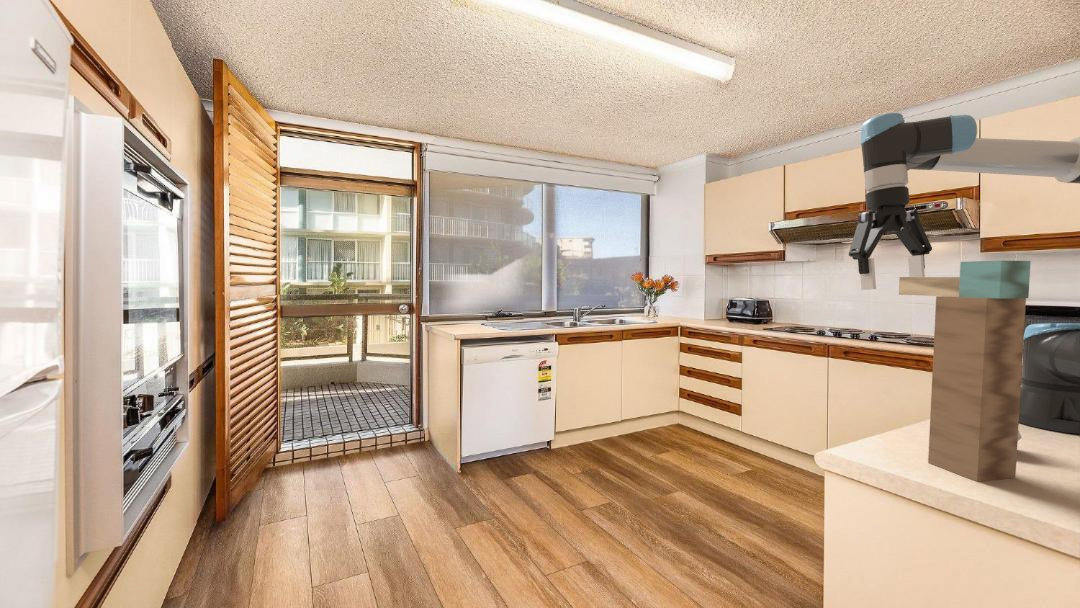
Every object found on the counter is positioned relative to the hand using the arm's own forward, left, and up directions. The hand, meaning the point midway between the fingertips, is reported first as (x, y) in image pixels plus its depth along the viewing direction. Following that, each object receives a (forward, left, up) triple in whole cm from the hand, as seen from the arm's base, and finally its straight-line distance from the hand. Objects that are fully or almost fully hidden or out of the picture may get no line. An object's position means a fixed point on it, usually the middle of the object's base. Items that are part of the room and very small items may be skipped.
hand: (893, 287), depth 102 cm
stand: (+6, +21, -31) cm, 38 cm away
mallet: (+6, +17, -1) cm, 18 cm away
